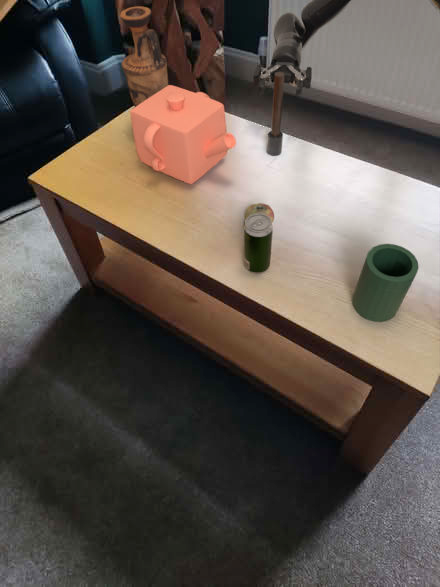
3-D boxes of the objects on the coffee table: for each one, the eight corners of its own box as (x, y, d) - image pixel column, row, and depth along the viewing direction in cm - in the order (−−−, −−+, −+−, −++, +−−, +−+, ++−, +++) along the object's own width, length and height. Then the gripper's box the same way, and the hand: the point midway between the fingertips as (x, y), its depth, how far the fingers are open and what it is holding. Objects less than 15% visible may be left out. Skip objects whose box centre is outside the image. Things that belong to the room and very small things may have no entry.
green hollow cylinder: (378, 280, 85) (395, 237, 76) (407, 311, 80) (429, 269, 71) (343, 296, 83) (356, 254, 74) (370, 328, 78) (388, 288, 69)
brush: (276, 145, 114) (282, 68, 98) (284, 153, 111) (291, 75, 95) (264, 149, 113) (267, 72, 97) (271, 157, 110) (276, 79, 95)
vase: (129, 137, 119) (100, 16, 95) (154, 119, 124) (133, -1, 100) (159, 150, 114) (137, 26, 91) (184, 130, 120) (169, 8, 96)
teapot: (260, 161, 110) (263, 93, 95) (206, 211, 99) (200, 143, 85) (185, 131, 119) (177, 65, 105) (128, 173, 109) (111, 107, 95)
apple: (268, 244, 92) (269, 223, 88) (238, 228, 95) (238, 208, 91) (283, 228, 95) (285, 207, 90) (254, 213, 98) (254, 193, 93)
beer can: (254, 279, 87) (256, 237, 77) (238, 263, 89) (238, 220, 80) (275, 266, 88) (279, 224, 79) (258, 251, 91) (260, 208, 81)
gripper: (259, 43, 111) (250, 74, 101) (315, 45, 109) (311, 77, 99) (258, 73, 117) (250, 104, 107) (311, 75, 115) (307, 108, 105)
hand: (279, 91), depth 103 cm, fingers open, 8 cm apart
